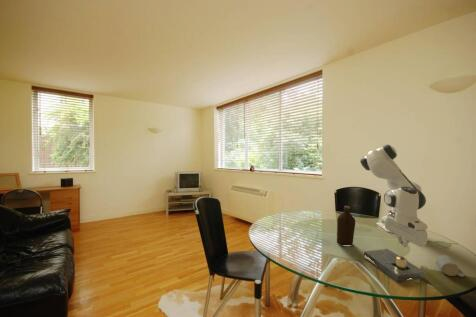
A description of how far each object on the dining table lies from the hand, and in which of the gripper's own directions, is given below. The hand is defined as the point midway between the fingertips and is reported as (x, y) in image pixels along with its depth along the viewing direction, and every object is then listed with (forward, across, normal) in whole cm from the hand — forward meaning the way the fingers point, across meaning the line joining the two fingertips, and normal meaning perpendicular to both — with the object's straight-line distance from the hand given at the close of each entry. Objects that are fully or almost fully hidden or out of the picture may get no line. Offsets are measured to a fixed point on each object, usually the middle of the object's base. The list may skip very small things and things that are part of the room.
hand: (402, 245), depth 114 cm
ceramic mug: (+15, +5, +26) cm, 30 cm away
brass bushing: (+15, 0, 0) cm, 15 cm away
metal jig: (+15, -5, 0) cm, 16 cm away
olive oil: (+15, -33, -8) cm, 37 cm away
